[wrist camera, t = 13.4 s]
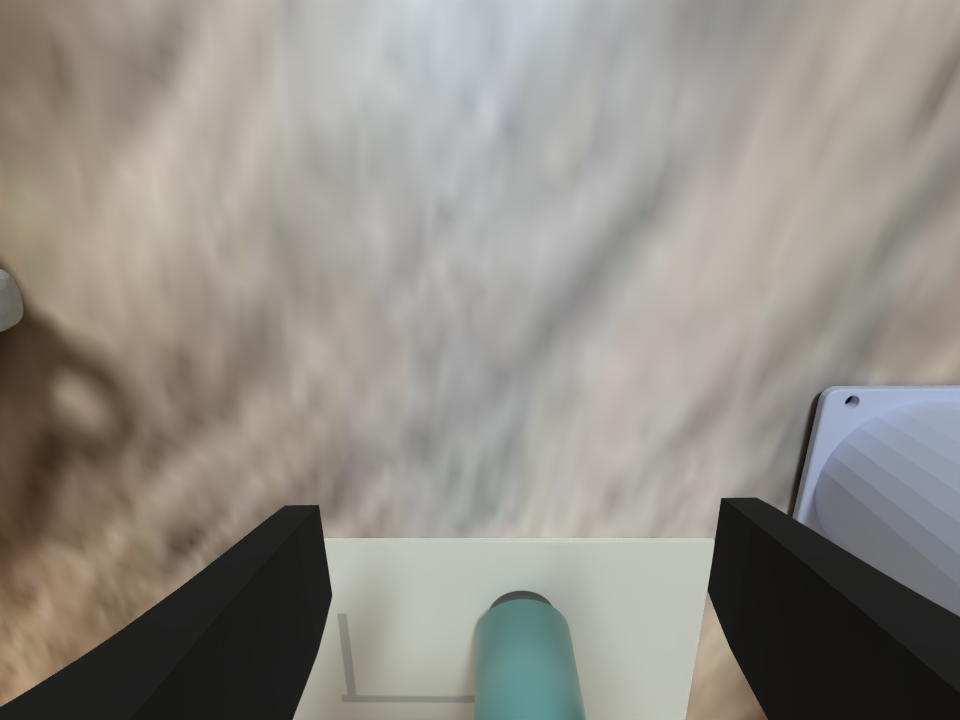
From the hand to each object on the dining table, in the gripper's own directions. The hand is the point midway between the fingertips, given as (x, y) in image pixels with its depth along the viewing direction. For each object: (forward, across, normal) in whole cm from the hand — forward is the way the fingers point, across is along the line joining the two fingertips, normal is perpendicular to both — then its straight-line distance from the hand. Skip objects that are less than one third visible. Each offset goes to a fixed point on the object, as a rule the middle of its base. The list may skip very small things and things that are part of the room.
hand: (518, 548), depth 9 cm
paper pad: (+10, +1, +15) cm, 18 cm away
